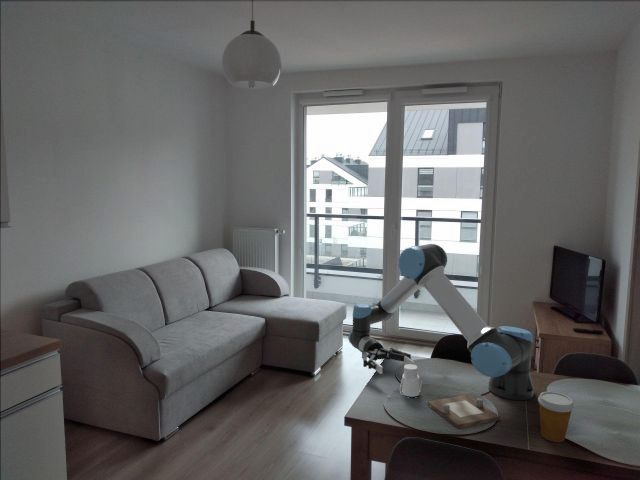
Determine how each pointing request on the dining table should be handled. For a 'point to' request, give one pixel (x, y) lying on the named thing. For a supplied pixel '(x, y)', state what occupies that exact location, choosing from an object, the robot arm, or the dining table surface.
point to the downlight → (410, 380)
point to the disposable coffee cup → (554, 415)
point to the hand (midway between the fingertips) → (398, 368)
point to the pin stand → (464, 411)
